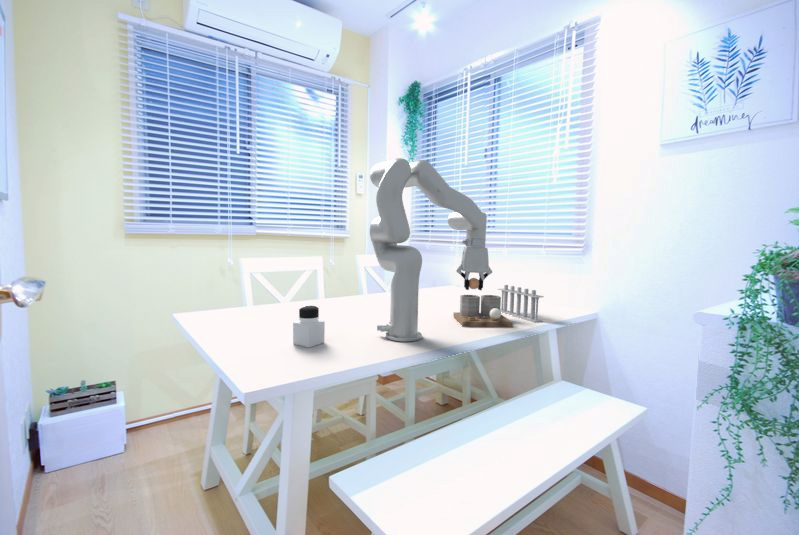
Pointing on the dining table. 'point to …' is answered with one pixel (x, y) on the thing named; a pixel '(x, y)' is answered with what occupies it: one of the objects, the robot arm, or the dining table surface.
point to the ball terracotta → (473, 283)
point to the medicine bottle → (308, 327)
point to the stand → (475, 319)
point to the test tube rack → (533, 299)
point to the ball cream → (495, 313)
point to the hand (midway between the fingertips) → (473, 289)
